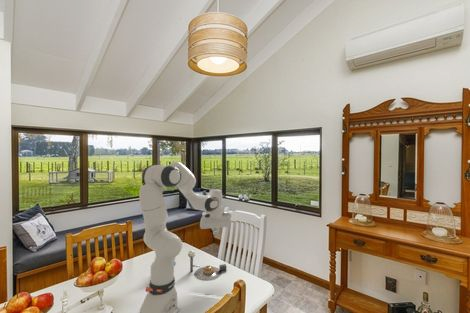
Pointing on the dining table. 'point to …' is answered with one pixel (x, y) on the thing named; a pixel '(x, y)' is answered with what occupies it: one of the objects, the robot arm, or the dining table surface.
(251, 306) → the dining table surface
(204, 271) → the cover
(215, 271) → the turntable
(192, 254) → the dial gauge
